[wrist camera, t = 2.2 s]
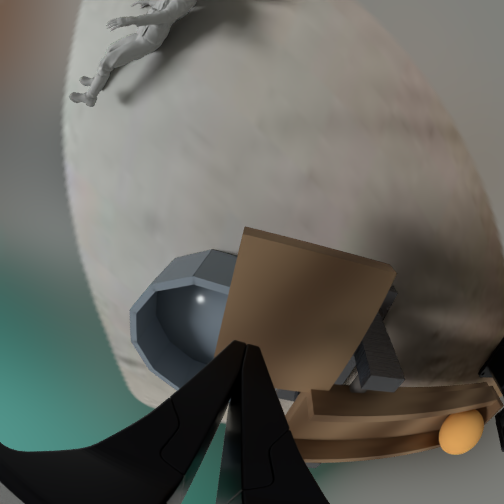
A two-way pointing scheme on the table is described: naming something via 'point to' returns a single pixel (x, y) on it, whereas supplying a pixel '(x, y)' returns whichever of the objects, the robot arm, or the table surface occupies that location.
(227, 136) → the table surface
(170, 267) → the cup
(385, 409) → the lever
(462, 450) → the ball
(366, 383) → the lever stand
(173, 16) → the soldier figure
